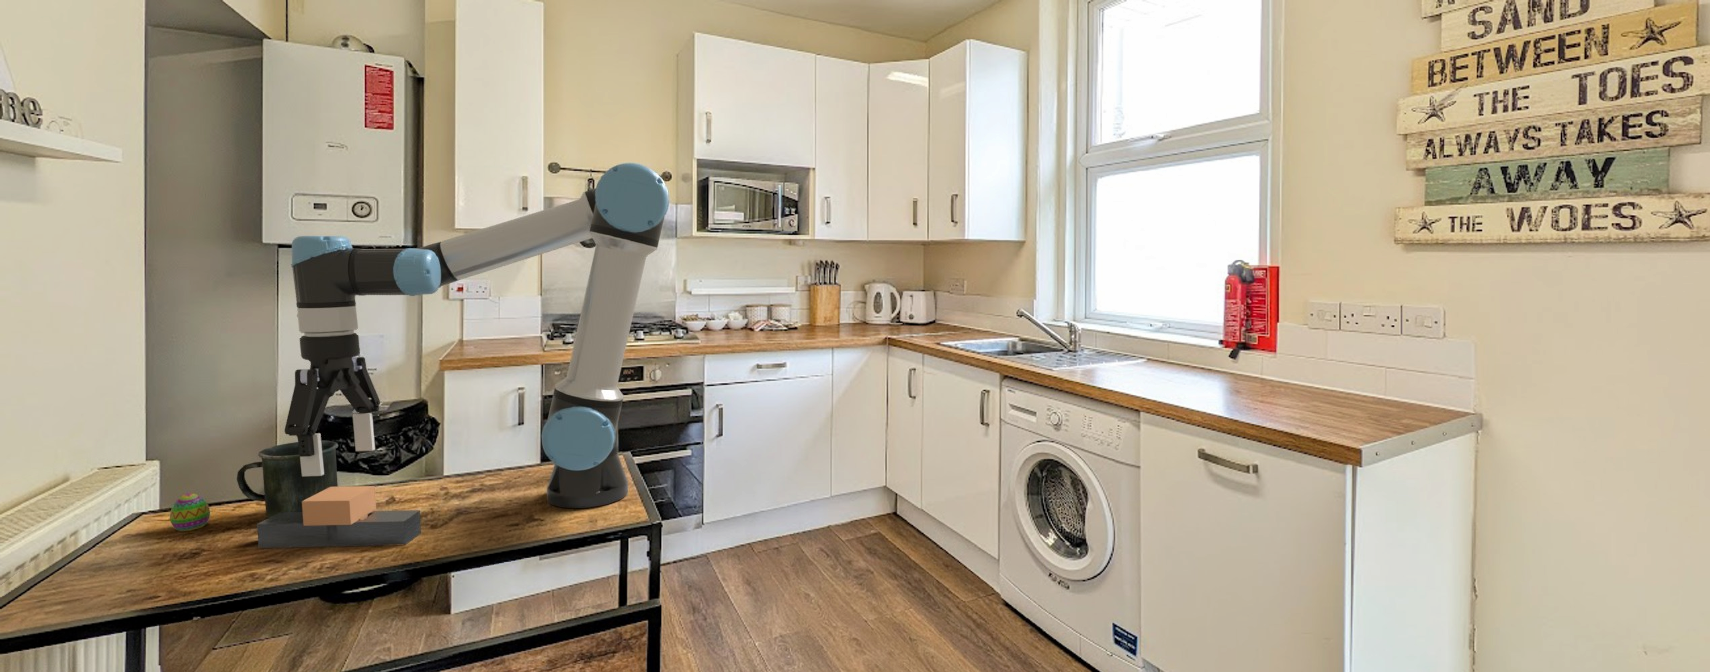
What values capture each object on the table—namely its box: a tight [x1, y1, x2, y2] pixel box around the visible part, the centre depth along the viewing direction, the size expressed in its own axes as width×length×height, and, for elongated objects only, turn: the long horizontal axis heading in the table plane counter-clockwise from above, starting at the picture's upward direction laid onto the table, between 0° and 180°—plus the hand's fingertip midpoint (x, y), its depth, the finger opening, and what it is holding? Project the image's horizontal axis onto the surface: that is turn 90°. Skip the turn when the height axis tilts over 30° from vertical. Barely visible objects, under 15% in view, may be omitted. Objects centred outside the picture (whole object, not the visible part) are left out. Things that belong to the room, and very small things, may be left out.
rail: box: [256, 509, 422, 549], centre depth 113 cm, size 22×5×4 cm, turn 97°
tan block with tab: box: [302, 485, 377, 526], centre depth 113 cm, size 7×7×7 cm
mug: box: [236, 440, 339, 519], centre depth 124 cm, size 11×15×12 cm
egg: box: [169, 493, 211, 532], centre depth 117 cm, size 5×5×6 cm
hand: (340, 462), depth 112 cm, fingers open, 13 cm apart
